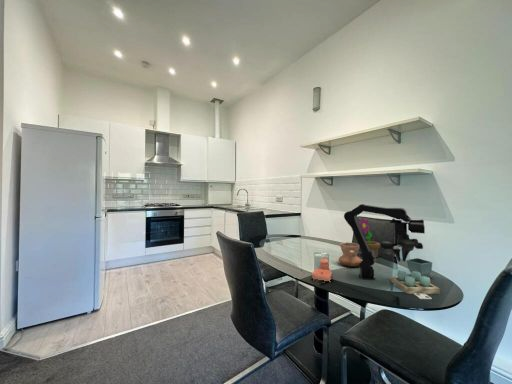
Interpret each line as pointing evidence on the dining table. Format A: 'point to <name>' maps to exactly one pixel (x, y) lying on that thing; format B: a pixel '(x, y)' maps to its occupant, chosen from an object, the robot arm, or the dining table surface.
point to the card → (422, 296)
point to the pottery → (323, 271)
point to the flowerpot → (370, 244)
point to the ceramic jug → (349, 254)
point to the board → (417, 288)
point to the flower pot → (420, 266)
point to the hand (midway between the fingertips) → (401, 261)
